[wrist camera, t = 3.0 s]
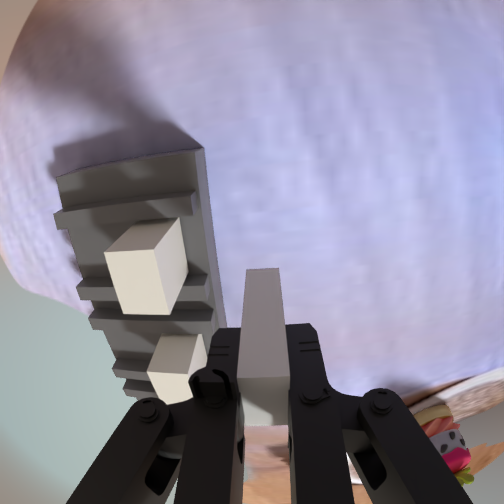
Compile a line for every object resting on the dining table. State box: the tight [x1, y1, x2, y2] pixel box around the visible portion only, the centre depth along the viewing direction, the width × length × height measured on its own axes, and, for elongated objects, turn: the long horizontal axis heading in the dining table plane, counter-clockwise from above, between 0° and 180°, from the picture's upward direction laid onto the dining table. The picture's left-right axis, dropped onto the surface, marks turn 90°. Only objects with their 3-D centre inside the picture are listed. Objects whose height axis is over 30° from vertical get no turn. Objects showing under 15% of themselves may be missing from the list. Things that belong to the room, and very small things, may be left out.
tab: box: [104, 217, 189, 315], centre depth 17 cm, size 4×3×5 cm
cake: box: [413, 405, 474, 487], centre depth 28 cm, size 10×11×15 cm
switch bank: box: [53, 148, 227, 401], centre depth 24 cm, size 30×11×4 cm, turn 4°
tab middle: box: [147, 333, 207, 405], centre depth 21 cm, size 4×3×5 cm
